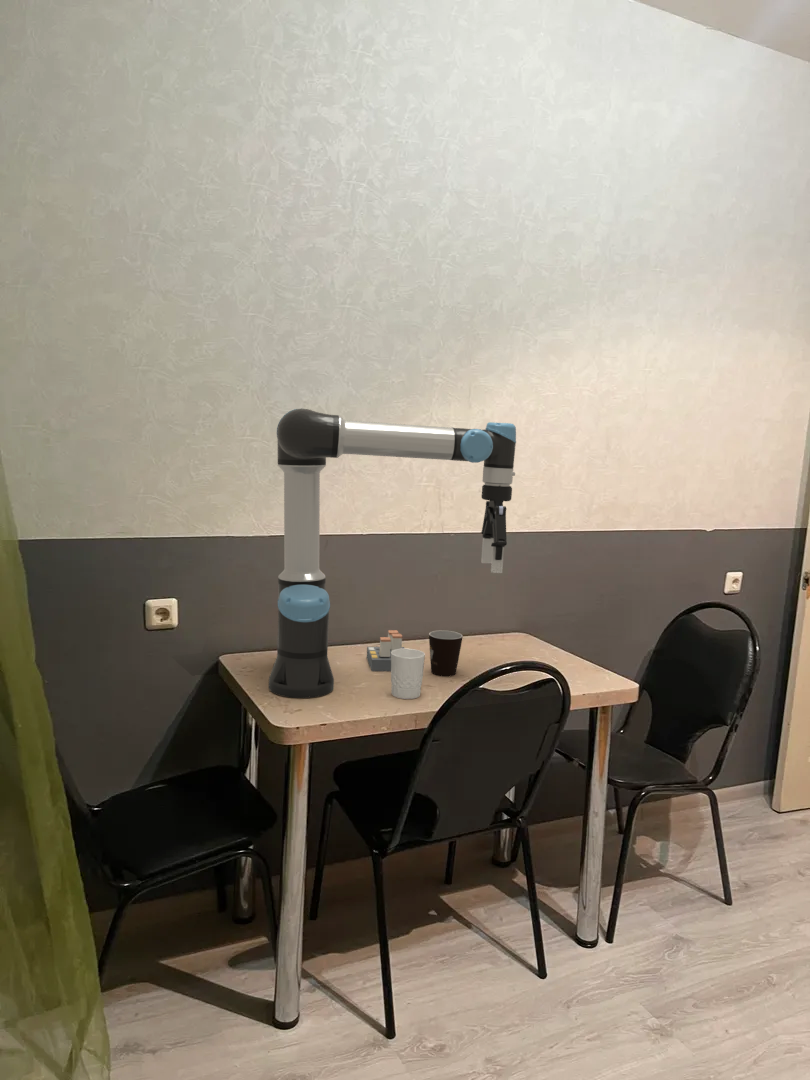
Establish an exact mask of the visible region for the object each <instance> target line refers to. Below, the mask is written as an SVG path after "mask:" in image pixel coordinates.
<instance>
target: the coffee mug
mask: <svg viewBox="0 0 810 1080" xmlns="http://www.w3.org/2000/svg"><path fill="white" fill-rule="evenodd" d="M463 637H464V636H463V634H462V633H460V632H456V631H454V630H453V631H451V630H443V629H442V630H433V631H429V633H428V641H429V659H430V673H431V674H432V675H434V676H437V677H442V678H443V677H445V678H448V677H449V676H450V677H454V676H456V675H457V670H458V666H459V665H458V664H459V660H460V659H459V658H460V653H461V649H462V642H463V639H464V638H463ZM450 677H449V678H450Z"/></svg>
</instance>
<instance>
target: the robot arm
mask: <svg viewBox="0 0 810 1080" xmlns="http://www.w3.org/2000/svg"><path fill="white" fill-rule="evenodd" d="M276 438H277V439H276V440H277V466H278V468H279V469H281V470H282V472H283V503H284V504H283V509H284V510H283V514H284V516H283V519H284V521H283V523H284V524H283V525H284V527H283V530H284V531H283V534H284V537H283V539H284V541H283V544H284V546H283V550H284V553H283V554H284V558H283V559H284V561H283V563H284V565H283V566H284V569H283V570H282V571H281V573H279V574H278V576H277V577H278V578H277V582H278V584H277V586H278V587H277V591H278V592H277V595H278V597H277V608H278V611H277V612H278V616H277V619H278V621H277V648H276V649H277V650H276V652H277V654H276V658H275V660H274V663H273V666H272V668H271V671H270V674H269V676H268V677H269V678H268V690H269V691H270V692H272V693H273V694H275V695H279V696H281V697H287V698H294V699H308V698H309V699H310V698H317V697H322V696H327V695H329V694H330V693H331V692H333V690H334V687H335V686H334V684H335V679H334V675H333V671H332V668H331V664H330V662H329V661H330V660H329V657H328V647H329V645H328V643H329V623H330V622H329V619H330V608H331V602H330V595H329V593H328V592H327V590H326V586H327V585H326V574H325V573H324V572H322V570H321V569H320V535H321V534H320V533H321V532H320V526H321V525H320V520H321V519H320V516H321V515H320V510H321V509H320V505H321V504H320V500H321V499H320V495H321V493H320V491H321V490H320V479H321V478H320V473H321V471H323V469H324V468H326V466H327V458H333V459H339V457H341V456H342V455H343V454H344V455H357V456H358V455H361V456H373V457H374V456H375V457H376V456H377V457H391V458H410V459H425V460H427V459H428V460H443V461H445V460H446V461H456V462H457V461H459V462H469V463H473V464H474V463H475V464H477V463H482V462H483V467H482V483H484V484H482V486H481V499H482V500H485V501H486V502H485V510H484V517H483V522H482V527H481V534H482V543H481V544H482V545H481V561H480V563H481V564H491V565H490V574H491V573H493V574H503V567H504V555H505V547H506V546H507V544H508V543H507V541H508V540H507V506H506V505H504V502H510V501H511V500H512V495H513V494H512V493H513V487H512V486H511V485H513V478H514V476H516V472H515V471H514V466H515V465H514V464H515V453H516V444H517V428H516V425H515V424H514V423H509V422H495V421H494V422H493V421H492V422H490V421H489V422H487V423H486V426H485V429H482V428H481V429H480V428H462V427H449V426H448V427H446V426H432V425H419V424H405V423H404V424H403V423H389V422H375V421H374V422H373V421H362V420H359V421H358V420H347V419H344V417H342V416H341V415H338V414H329V413H322V412H319V411H315V410H311V409H308V408H303V407H302V408H294V409H292V410H290V411H287V412H286V413H285V414H284V415H283V416H282V417H281V419H280V420H279V421H278V424H277V427H276Z"/></svg>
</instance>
